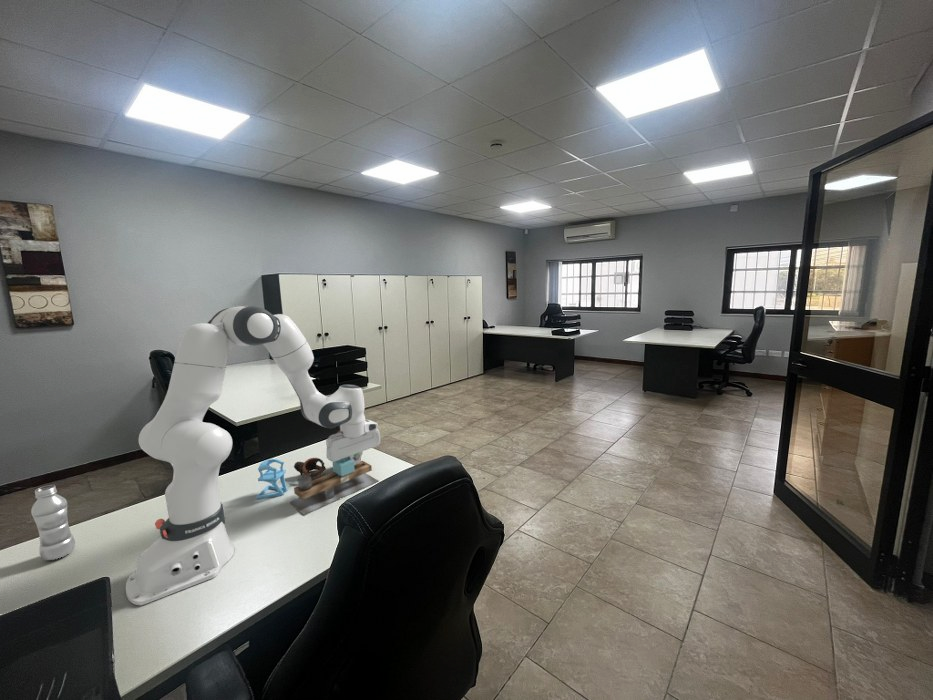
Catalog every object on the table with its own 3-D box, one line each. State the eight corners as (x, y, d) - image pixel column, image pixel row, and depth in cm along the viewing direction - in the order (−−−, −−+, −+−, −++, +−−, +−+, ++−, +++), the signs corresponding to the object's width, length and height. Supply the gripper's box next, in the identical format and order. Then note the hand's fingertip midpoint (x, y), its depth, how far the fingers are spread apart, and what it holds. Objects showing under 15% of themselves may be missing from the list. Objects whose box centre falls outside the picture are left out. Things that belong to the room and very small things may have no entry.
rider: (342, 482, 132) (340, 463, 131) (333, 476, 136) (332, 458, 135) (355, 477, 135) (353, 458, 134) (346, 471, 139) (344, 453, 138)
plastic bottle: (50, 551, 105) (35, 485, 102) (82, 545, 108) (68, 480, 104) (35, 567, 99) (19, 497, 96) (69, 559, 102) (54, 491, 98)
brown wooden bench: (303, 515, 120) (301, 489, 118) (289, 502, 127) (286, 477, 126) (378, 481, 140) (377, 458, 139) (362, 472, 147) (360, 450, 146)
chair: (280, 499, 130) (277, 466, 128) (256, 499, 130) (252, 466, 128) (290, 487, 137) (288, 456, 135) (268, 487, 137) (265, 456, 135)
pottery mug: (328, 469, 151) (329, 457, 146) (320, 490, 143) (320, 478, 139) (298, 464, 150) (297, 451, 145) (287, 484, 142) (287, 472, 137)
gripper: (330, 439, 126) (333, 477, 129) (381, 422, 141) (383, 457, 143) (321, 434, 131) (324, 471, 133) (372, 419, 145) (374, 452, 148)
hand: (355, 464), depth 138 cm, fingers closed
